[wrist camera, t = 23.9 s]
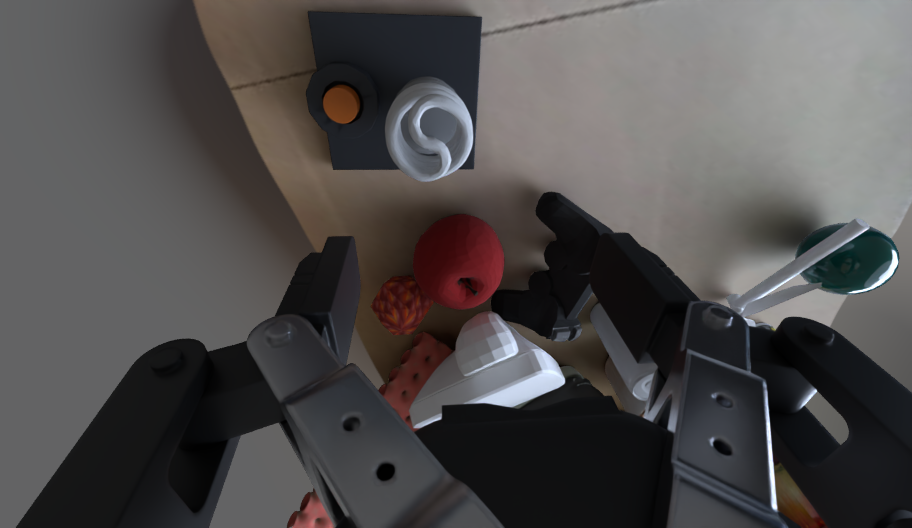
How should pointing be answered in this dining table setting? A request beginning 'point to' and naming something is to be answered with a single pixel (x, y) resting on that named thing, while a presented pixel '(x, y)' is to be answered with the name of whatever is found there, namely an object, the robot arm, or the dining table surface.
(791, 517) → the vase
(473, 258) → the apple
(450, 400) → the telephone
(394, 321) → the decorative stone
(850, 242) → the sphere
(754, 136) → the dining table surface
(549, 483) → the robot arm
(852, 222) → the wind turbine
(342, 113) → the button
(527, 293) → the game controller
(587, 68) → the dining table surface
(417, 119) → the light bulb
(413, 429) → the egg carton
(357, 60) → the push button pad
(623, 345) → the beverage can
